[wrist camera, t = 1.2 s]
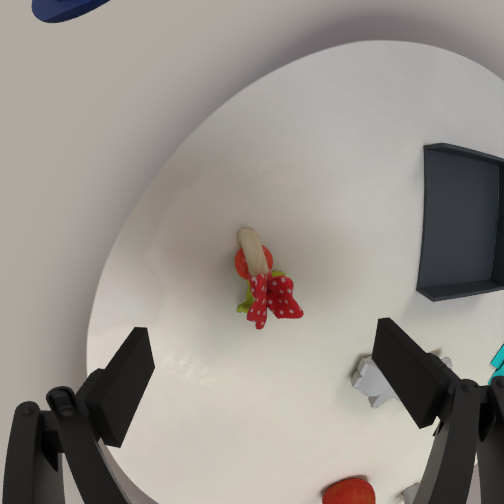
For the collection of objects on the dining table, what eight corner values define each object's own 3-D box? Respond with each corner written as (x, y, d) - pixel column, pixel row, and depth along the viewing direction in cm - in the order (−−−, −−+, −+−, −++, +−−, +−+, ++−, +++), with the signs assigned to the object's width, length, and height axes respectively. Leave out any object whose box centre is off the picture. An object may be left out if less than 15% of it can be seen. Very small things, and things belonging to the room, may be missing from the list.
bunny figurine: (377, 351, 29) (464, 363, 29) (366, 331, 34) (448, 346, 34) (346, 411, 31) (432, 415, 31) (340, 388, 36) (421, 396, 36)
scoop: (416, 290, 32) (432, 301, 28) (423, 145, 28) (442, 142, 24) (522, 275, 33) (536, 282, 29) (530, 172, 29) (546, 174, 25)
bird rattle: (219, 252, 32) (244, 330, 31) (188, 227, 22) (225, 344, 20) (272, 233, 32) (299, 311, 30) (267, 199, 21) (310, 317, 20)
